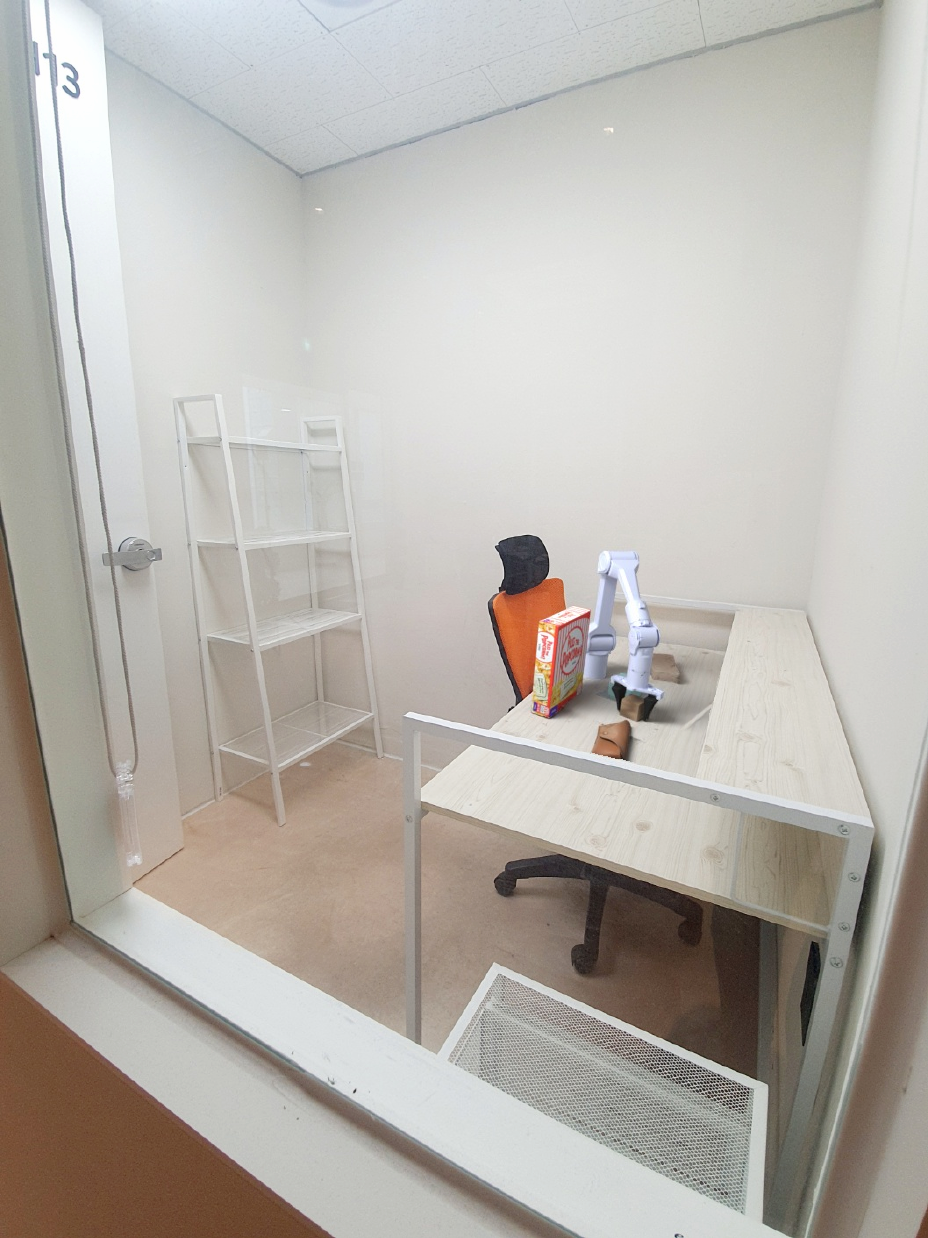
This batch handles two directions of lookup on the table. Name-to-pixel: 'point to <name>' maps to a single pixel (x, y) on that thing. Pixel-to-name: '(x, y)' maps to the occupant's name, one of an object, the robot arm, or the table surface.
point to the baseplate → (605, 694)
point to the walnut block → (632, 707)
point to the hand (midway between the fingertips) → (632, 714)
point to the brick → (664, 668)
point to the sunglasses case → (613, 740)
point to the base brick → (626, 691)
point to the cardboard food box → (560, 660)
